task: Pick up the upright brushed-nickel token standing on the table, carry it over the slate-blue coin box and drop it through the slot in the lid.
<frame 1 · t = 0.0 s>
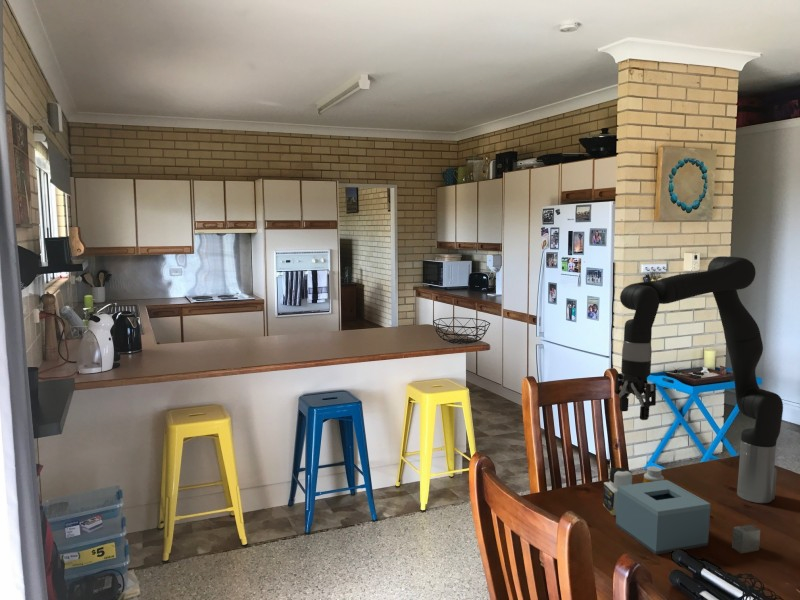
hand: (633, 415, 174), 29 cm above the table, fingers open, 8 cm apart
medicine bottle: (619, 510, 181), on the table
token: (745, 549, 160), on the table
supplement bottle: (652, 502, 187), on the table
coin box: (660, 535, 166), on the table
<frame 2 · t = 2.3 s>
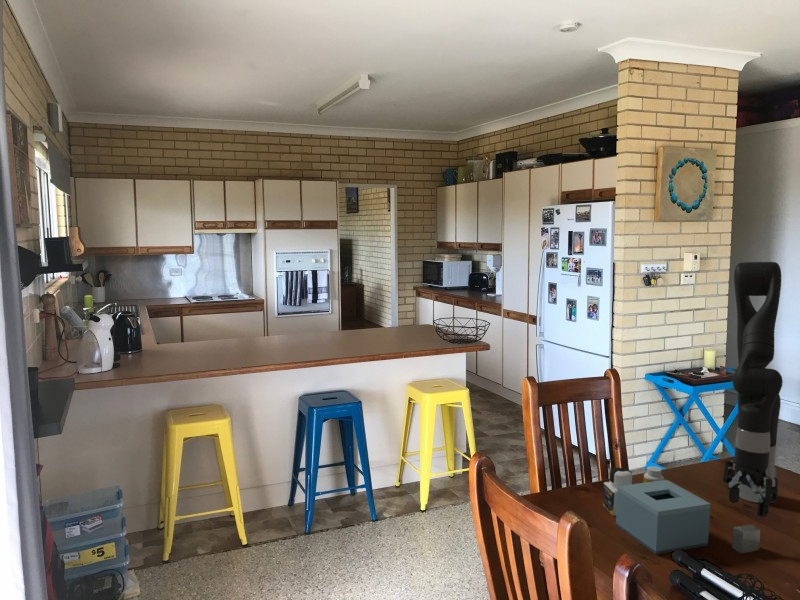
hand: (747, 508, 158), 11 cm above the table, fingers open, 8 cm apart
nothing on the table moved.
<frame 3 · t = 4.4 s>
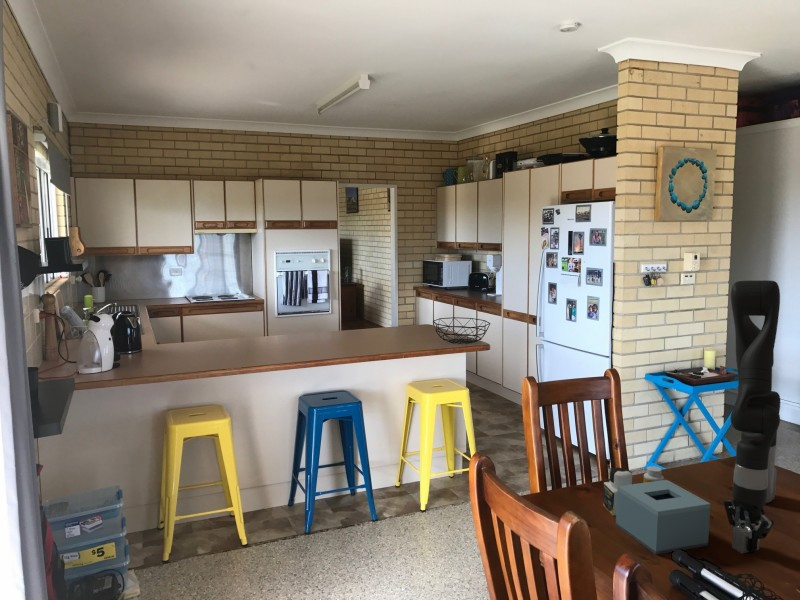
hand: (745, 547, 160), 0 cm above the table, fingers closed on token, 2 cm apart
token: (745, 548, 160), on the table, touching gripper
everything else where it was.
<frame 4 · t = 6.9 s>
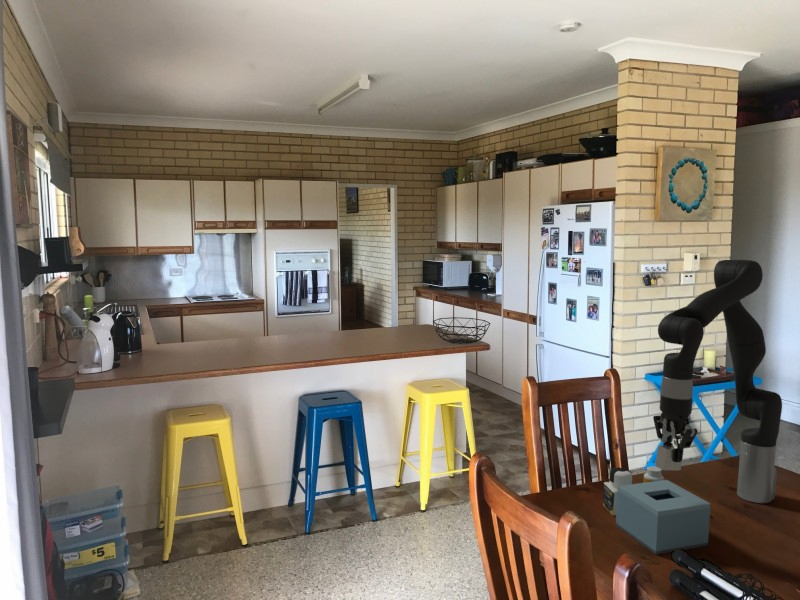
hand: (672, 459, 163), 21 cm above the table, fingers closed on token, 3 cm apart
token: (667, 468, 163), point 19 cm above the table, tilted 7°, touching gripper
everything else where it was.
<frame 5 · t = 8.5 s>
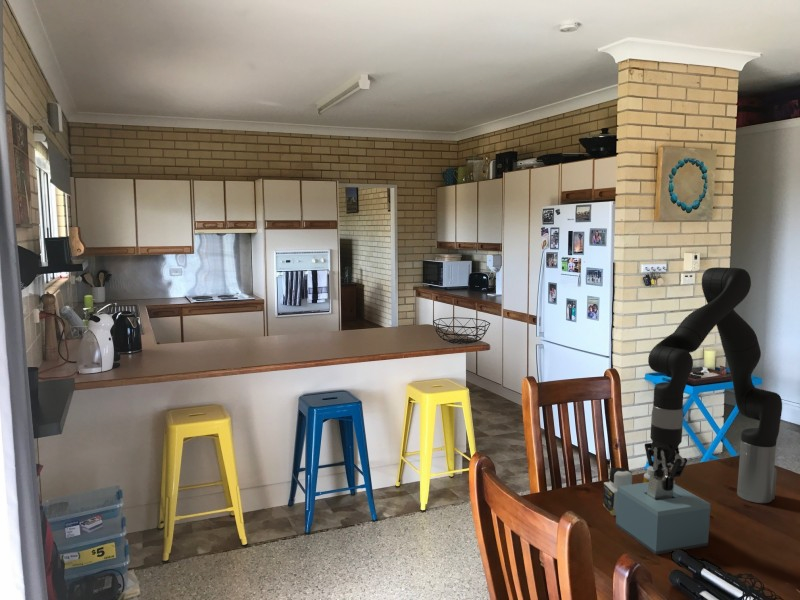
hand: (663, 487, 165), 13 cm above the table, fingers closed on token, 3 cm apart
token: (659, 498, 165), point 10 cm above the table, tilted 8°, touching gripper
everything else where it was.
when the fingers open (12 cm above the table, at t = 9.4 s): token drops 7 cm and tips over, resting on coin box.
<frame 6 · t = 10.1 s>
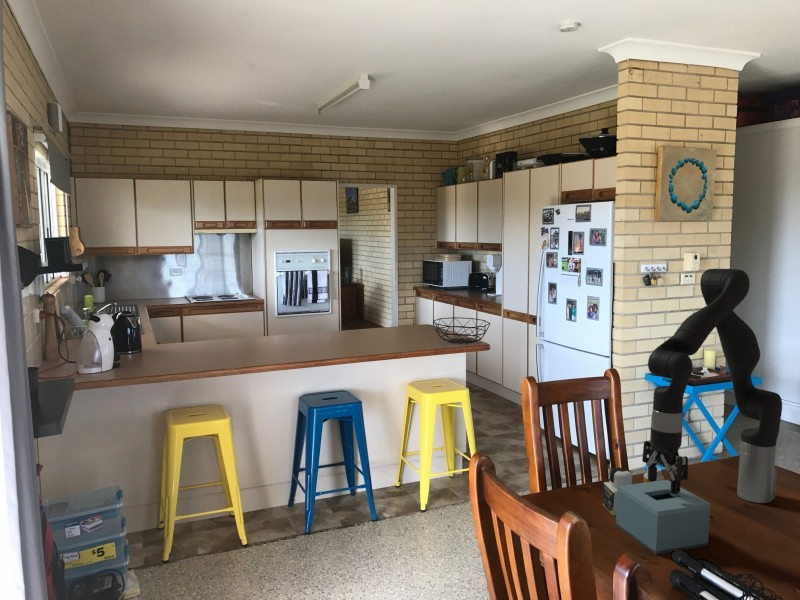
hand: (663, 487, 165), 13 cm above the table, fingers open, 8 cm apart
token: (659, 529, 164), point 2 cm above the table, tilted 90°, touching coin box
everything else where it was.
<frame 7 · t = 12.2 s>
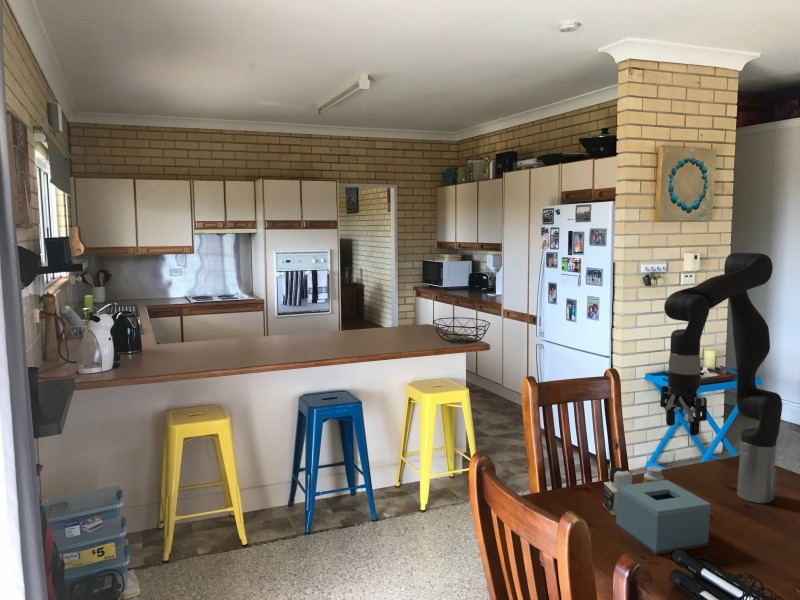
hand: (681, 429, 166), 28 cm above the table, fingers open, 8 cm apart
nothing on the table moved.
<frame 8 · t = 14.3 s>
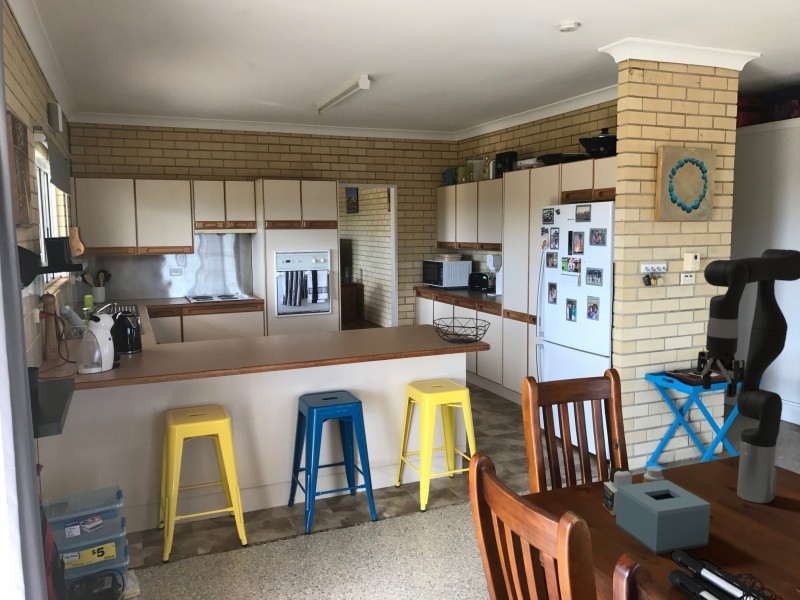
hand: (718, 393, 172), 36 cm above the table, fingers open, 8 cm apart
nothing on the table moved.
at the end: token inside the target area on the coin box (1.9 cm from its centre), point 2.3 cm above the coin box's base; the gripper is holding nothing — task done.
